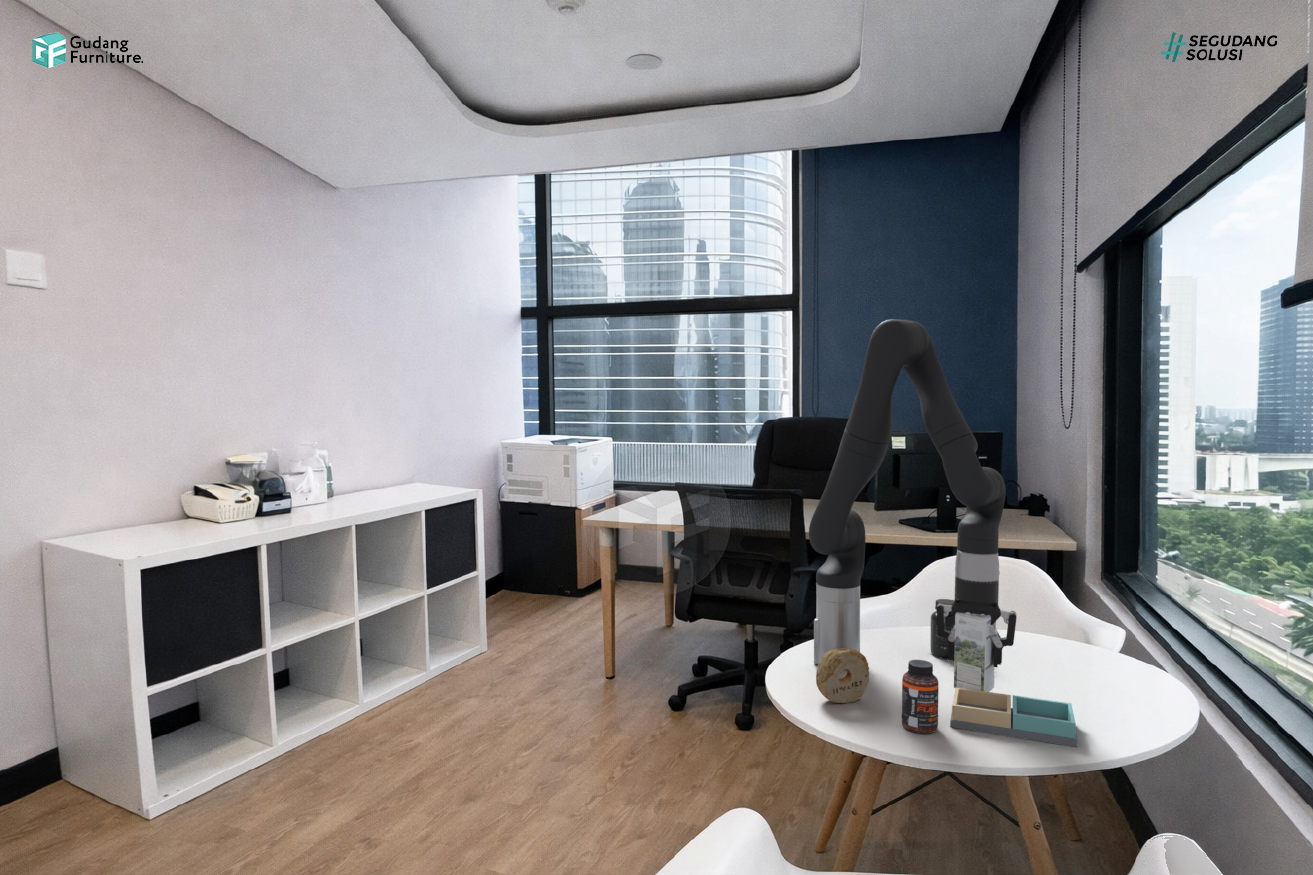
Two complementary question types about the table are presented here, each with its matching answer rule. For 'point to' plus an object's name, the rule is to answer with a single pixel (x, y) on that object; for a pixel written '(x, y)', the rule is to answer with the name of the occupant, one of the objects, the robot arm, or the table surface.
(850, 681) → the stone disc
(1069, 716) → the teal and wood tray
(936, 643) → the supplement bottle
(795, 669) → the table surface
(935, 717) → the supplement bottle
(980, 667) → the syrup box
